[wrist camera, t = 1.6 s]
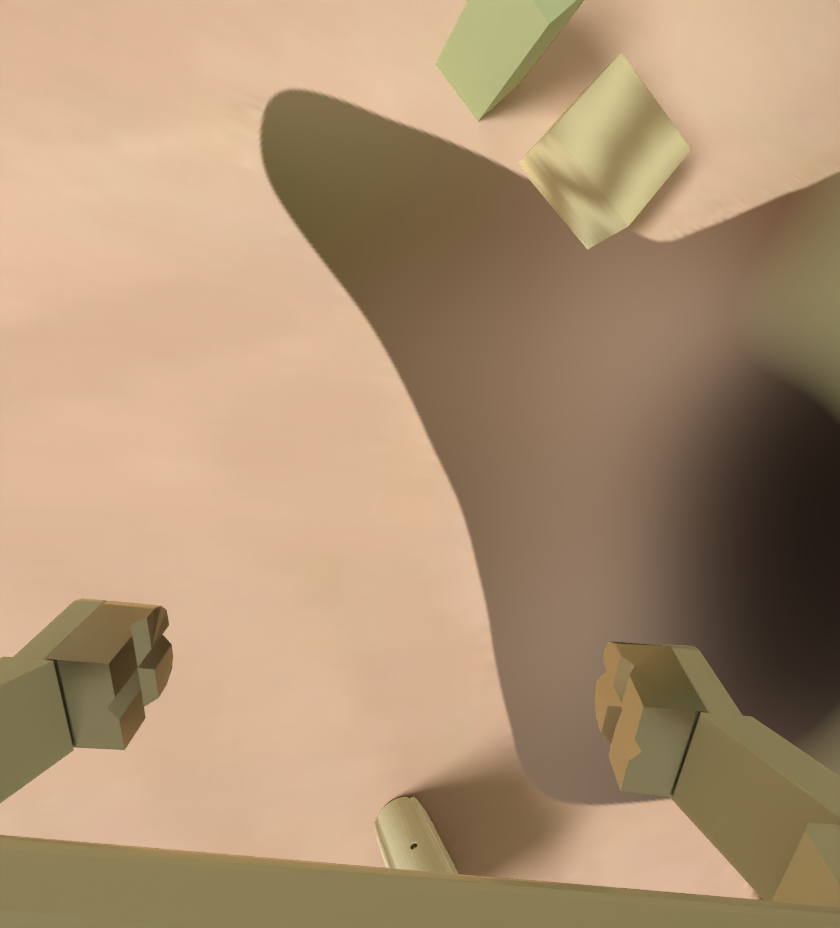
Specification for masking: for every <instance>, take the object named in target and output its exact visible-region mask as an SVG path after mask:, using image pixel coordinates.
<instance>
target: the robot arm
mask: <svg viewBox="0 0 840 928" xmlns="http://www.w3.org/2000/svg"><path fill="white" fill-rule="evenodd" d="M168 626H169V621H168V615H167V610H166V609H165V608H163V607H162V606H157V605H147V604H137V603H128V602H118V601H105V600H94V599H80V600H76V601H74V602H73V603H72V604H70V605H69V606H68V607H67V608H66V609H65V610H64V611H63V612H62V613H61V614H60V615H58V616H57V617H56V618H55V619H54V620H53V621H52V622H51V623H50V624H49V625H48V626H46V627H45V628H44V629H43V630H42V631H41V632H40V633H39V634H38V635H37V636H36V637H35V638H33V639H32V640H31V641H30V642H29V643H28V644H27V645H26V646H25V647H24V648H23V649H21V650H20V651H19V652H18V653H17V654H16V655H15V656H14V657H2V658H0V803H1V802H3V801H4V800H5V799H7V798H8V797H9V796H11V795H12V794H14V793H15V792H16V791H18V790H19V789H21V788H22V787H23V786H25V785H26V784H27V783H29V782H30V781H32V780H33V779H34V778H36V777H37V776H39V775H40V774H41V773H43V772H44V771H45V770H47V769H48V768H50V767H51V766H52V765H54V764H55V763H57V762H58V761H59V760H61V759H62V758H63V757H65V756H66V755H68V754H69V753H70V752H72V751H73V750H74V749H73V747H77V748H96V749H116V750H125V748H126V747H127V745H128V744H129V742H130V741H131V739H132V738H133V736H134V735H135V733H136V732H137V730H138V729H139V727H140V726H141V724H142V723H143V721H144V719H145V711H144V706H146V705H148V704H149V703H151V702H153V701H154V700H156V699H157V698H159V696H160V695H161V693H162V691H163V690H164V688H165V687H166V685H167V682H168V679H169V676H170V673H171V670H172V661H173V652H172V645H171V643H170V642H169V641H168V640H167V639H166V638H165V637H164V636H163V633H164V631H165V630H166V629H167V627H168ZM603 662H604V664H605V667H606V669H607V672H605V673H604V674H603V675H602V676H601V677H599V678H598V681H597V687H596V692H595V711H596V717H597V722H598V725H599V728H600V732H601V734H602V735H603V736H604V737H605V738H606V739H607V740H608V741H610V742H611V747H610V751H609V759H610V762H611V765H612V768H613V771H614V773H615V776H616V780H617V782H618V785H619V788H620V791H625V792H634V793H643V794H653V795H662V796H670V797H672V800H673V801H674V802H675V803H676V804H677V806H678V807H679V808H680V809H681V810H682V811H683V812H684V813H685V814H686V815H687V816H688V818H689V819H690V820H691V821H692V822H693V823H694V824H695V825H696V826H697V827H698V829H699V830H700V831H701V832H702V833H703V834H704V835H705V836H706V837H707V838H708V839H709V841H710V842H711V843H712V844H713V845H714V846H715V847H716V848H717V849H718V850H719V851H720V853H721V854H722V855H723V856H724V857H725V858H726V859H727V860H728V861H729V862H730V864H731V865H732V866H733V867H734V868H735V869H736V870H737V871H738V872H739V873H740V874H741V876H742V877H743V878H744V879H745V880H746V881H747V882H748V883H749V884H750V885H751V887H752V888H753V889H754V890H755V891H756V892H757V893H758V894H759V895H760V896H761V897H762V899H763V900H755V899H743V898H732V897H720V896H708V895H697V894H685V893H674V892H662V891H650V890H639V889H627V888H616V887H604V886H592V885H581V884H569V883H557V882H545V881H534V880H522V879H510V878H499V877H487V876H475V875H464V874H452V873H440V872H428V871H417V870H405V869H393V868H382V867H370V866H358V865H347V864H335V863H323V862H312V861H300V860H288V859H276V858H265V857H253V856H241V855H230V854H218V853H206V852H195V851H183V850H171V849H159V848H148V847H136V846H124V845H113V844H101V843H89V842H77V841H66V840H54V839H42V838H30V837H19V836H7V835H0V928H840V777H839V776H838V775H836V774H835V773H833V772H832V771H831V770H829V769H827V768H826V767H825V766H823V765H822V764H820V763H819V762H817V761H816V760H814V759H813V758H812V757H810V756H809V755H807V754H806V753H804V752H803V751H801V750H800V749H798V748H797V747H795V746H794V745H792V744H791V743H790V742H788V741H787V740H785V739H784V738H782V737H781V736H779V735H778V734H776V733H775V732H773V731H772V730H771V729H769V728H768V727H766V726H764V725H763V724H762V723H760V722H758V721H757V720H756V719H754V718H753V717H750V716H742V714H741V713H740V711H739V710H738V708H737V707H736V705H735V704H734V702H733V701H732V699H731V698H730V696H729V695H728V693H727V692H726V690H725V689H724V687H723V686H722V684H721V683H720V681H719V679H718V678H717V676H716V675H715V674H714V672H713V670H712V669H711V668H710V666H709V664H708V663H707V662H706V660H705V658H704V657H703V655H702V654H701V652H700V651H699V650H698V649H697V648H695V647H694V646H683V645H652V644H638V643H624V642H609V643H608V644H607V646H606V648H605V651H604V655H603Z"/></svg>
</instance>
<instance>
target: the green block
mask: <svg viewBox="0 0 840 928" xmlns="http://www.w3.org/2000/svg"><path fill="white" fill-rule="evenodd" d="M583 1H584V0H468V1H467V3H466V5H465V7H464V9H463V11H462V13H461V15H460V17H459V19H458V21H457V23H456V25H455V27H454V28H453V30H452V32H451V34H450V36H449V38H448V40H447V42H446V44H445V46H444V48H443V50H442V52H441V54H440V56H439V58H438V60H437V62H436V66H437V67H438V68H439V70H440V71H441V72H442V74H443V75H444V76H445V78H446V79H447V80H448V82H449V83H450V84H451V86H452V87H453V88H454V90H455V91H456V92H457V94H458V95H459V96H460V98H461V99H462V101H463V102H464V103H465V105H466V106H467V107H468V109H469V110H470V111H471V113H472V114H473V115H474V117H475V118H476V119H477V121H479V120H480V119H481V118H482V117H483V116H484V115H486V114H487V113H488V112H489V111H490V110H491V109H492V108H493V107H495V106H496V105H497V104H498V103H499V102H500V101H501V100H502V99H504V98H505V97H506V96H507V95H508V94H509V93H510V92H511V91H513V90H514V89H515V88H516V87H517V86H518V85H519V84H520V83H521V81H522V80H523V79H524V78H525V76H526V75H527V74H528V72H529V71H530V70H531V69H532V67H533V66H534V65H535V63H536V62H537V61H538V59H539V58H540V57H541V56H542V54H543V53H544V52H545V50H546V49H547V48H548V46H549V45H550V44H551V43H552V41H553V40H554V39H555V37H556V36H557V35H558V34H559V32H560V31H561V30H562V28H563V27H564V26H565V24H566V23H567V22H568V21H569V19H570V18H571V17H572V15H573V14H574V13H575V11H576V10H577V9H578V8H579V6H580V5H581V4H582V2H583Z"/></svg>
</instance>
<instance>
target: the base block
mask: <svg viewBox="0 0 840 928" xmlns="http://www.w3.org/2000/svg"><path fill="white" fill-rule="evenodd" d="M690 151H691V149H690V147H689V146H688V145H687V143H686V142H685V140H684V139H683V138H682V136H681V135H680V133H679V132H678V131H677V129H676V128H675V126H674V125H673V124H672V122H671V121H670V119H669V118H668V117H667V115H666V114H665V112H664V111H663V110H662V108H661V107H660V105H659V104H658V103H657V101H656V100H655V98H654V97H653V96H652V94H651V93H650V91H649V90H648V89H647V87H646V86H645V84H644V83H643V82H642V80H641V79H640V77H639V76H638V75H637V73H636V72H635V70H634V69H633V68H632V66H631V65H630V63H629V62H628V61H627V59H626V58H625V56H624V55H623V54H622V52H621V53H620V54H619V55H618V56H617V57H616V58H615V59H614V60H613V61H612V62H611V63H610V65H609V66H608V67H607V68H606V69H605V70H604V71H603V72H602V73H601V74H600V75H599V76H598V77H597V78H596V79H595V80H594V81H593V82H592V83H591V84H590V85H589V86H588V87H587V88H586V89H585V90H584V91H583V92H582V93H581V94H580V96H579V97H578V98H577V99H576V100H575V101H574V102H573V103H572V104H571V105H570V107H569V108H568V109H567V110H566V111H565V112H564V113H563V114H562V115H561V116H560V118H559V119H558V120H557V121H556V122H555V123H554V124H553V125H552V126H551V127H550V129H549V130H548V131H547V132H546V133H545V134H544V135H543V136H542V137H541V138H540V140H539V141H538V142H537V143H536V144H535V145H534V146H533V147H532V148H531V149H530V151H529V152H528V153H527V154H526V155H525V156H524V157H523V158H522V159H521V160H520V162H519V164H520V166H521V167H522V168H523V169H524V170H525V172H526V173H527V174H528V175H529V176H530V178H531V179H532V180H533V181H532V180H530V181H531V182H532V183H533V184H534V186H535V187H536V188H537V189H538V190H539V191H540V193H541V194H542V195H543V196H544V198H546V200H547V201H548V202H549V204H550V205H551V206H552V207H553V208H554V210H555V211H556V212H557V213H558V214H559V216H560V217H561V218H562V219H563V220H564V222H565V223H566V224H567V225H568V226H569V228H570V229H571V230H572V231H573V233H574V234H575V235H576V236H577V237H578V239H579V240H580V241H581V242H582V243H583V245H584V246H585V247H586V248H587V249H589V248H591V247H593V246H595V245H596V244H598V243H600V242H602V241H604V240H605V239H607V238H609V237H610V236H612V235H614V234H616V233H618V232H619V231H621V230H623V229H625V228H627V227H628V226H629V225H630V224H631V223H632V222H633V220H634V219H635V218H636V217H637V215H638V214H639V213H640V212H641V211H642V209H643V208H644V207H645V206H646V204H647V203H648V202H649V201H650V200H651V198H652V197H653V196H654V195H655V193H656V192H657V191H658V190H659V189H660V187H661V186H662V185H663V184H664V182H665V181H666V180H667V179H668V178H669V176H670V175H671V174H672V173H673V171H674V170H675V169H676V168H677V167H678V165H679V164H680V163H681V162H682V160H683V159H684V158H685V157H686V156H687V154H688V153H689V152H690Z"/></svg>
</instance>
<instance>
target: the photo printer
mask: <svg viewBox="0 0 840 928" xmlns="http://www.w3.org/2000/svg"><path fill="white" fill-rule="evenodd" d="M374 826H375V832H376V837H377V841H378V844H379V847H380V850H381V853H382V856H383V859H384V862H385V865H386V868H393V869H405V870H417V871H428V872H440V873H452V874H458V872H457V870H456V868H455V866H454V864H453V862H452V860H451V858H450V856H449V854H448V852H447V851H446V849H445V847H444V845H443V843H442V841H441V839H440V837H439V835H438V833H437V831H436V829H435V827H434V824H433V823H432V821H431V820H430V818H429V816H428V814H427V812H426V811H425V809H424V808H423V806H422V805H421V804H420V802H419V801H418V800H417V799H416V798H415V797H414V796H413V797H411V798H409V797H400V798H397V799H394V800H393V801H391V802H389V803H388V804H387V805H386V806H385V807H384V808H383V809H382V810H381V812H380V814H379V815H378V820H377V821H375V822H374Z"/></svg>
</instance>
